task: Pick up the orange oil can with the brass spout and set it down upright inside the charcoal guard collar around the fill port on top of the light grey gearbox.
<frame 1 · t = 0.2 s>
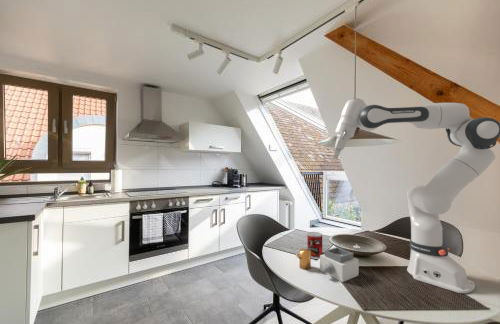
hand: (335, 158, 114), 52 cm above the table, tool tilted 20°, fingers open, 8 cm apart
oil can: (305, 267, 110), on the table
canned food: (314, 254, 126), on the table
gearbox: (338, 272, 104), on the table
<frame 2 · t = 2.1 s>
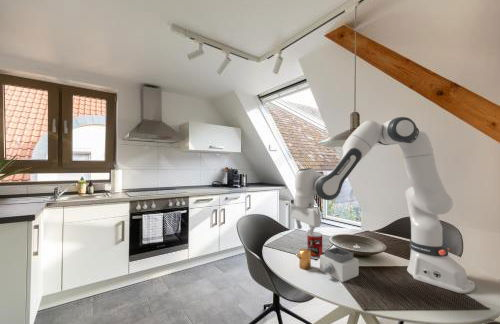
hand: (304, 231, 110), 17 cm above the table, tool pointing down, fingers open, 8 cm apart
nothing on the table moved.
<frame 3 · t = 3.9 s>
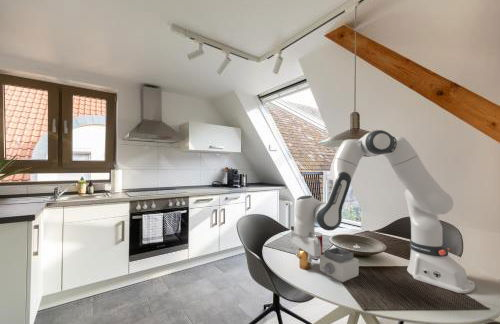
hand: (305, 259, 110), 4 cm above the table, tool pointing down, fingers closed on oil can, 5 cm apart
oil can: (305, 267, 110), on the table, touching gripper
everything else where it was.
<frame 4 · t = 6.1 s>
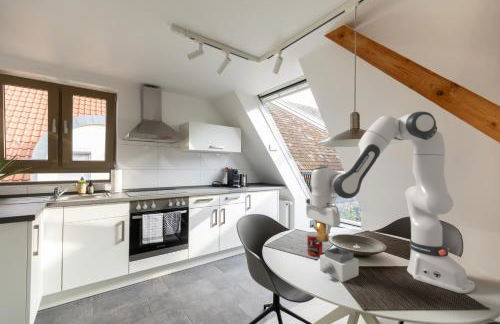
hand: (322, 231, 107), 18 cm above the table, tool pointing down, fingers closed on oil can, 5 cm apart
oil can: (322, 240, 107), point 14 cm above the table, touching gripper
everything else where it was.
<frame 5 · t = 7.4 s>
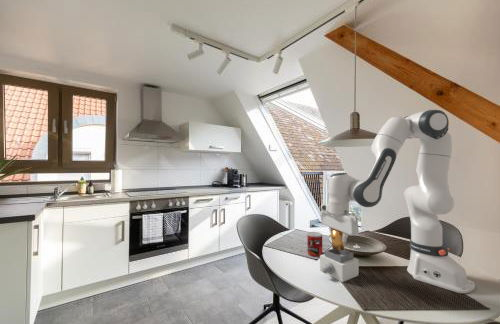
hand: (338, 239, 104), 15 cm above the table, tool pointing down, fingers closed on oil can, 5 cm apart
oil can: (338, 248, 104), point 11 cm above the table, touching gripper
everything else where it was.
when the fingers open (12 cm above the table, at t = 8.3 s): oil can drops 1 cm, resting on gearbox.
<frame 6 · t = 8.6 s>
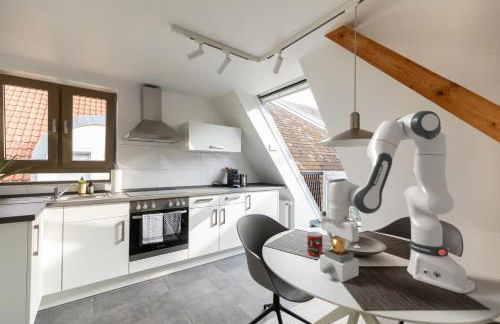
hand: (338, 245, 104), 12 cm above the table, tool pointing down, fingers open, 8 cm apart
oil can: (338, 257, 104), point 7 cm above the table, touching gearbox
everything else where it was.
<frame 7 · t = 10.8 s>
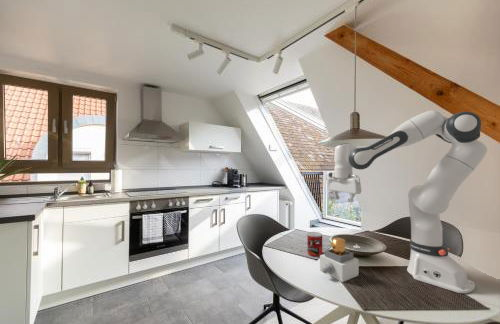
hand: (343, 200, 121), 30 cm above the table, tool pointing down, fingers open, 8 cm apart
nothing on the table moved.
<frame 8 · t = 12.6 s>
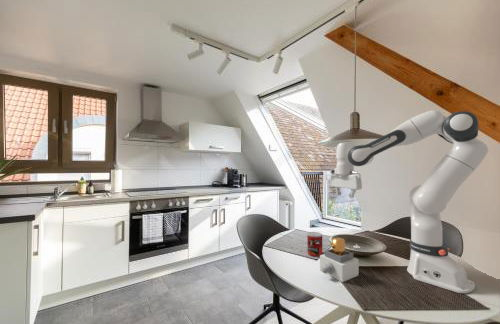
hand: (345, 196, 126), 31 cm above the table, tool pointing down, fingers open, 8 cm apart
nothing on the table moved.
at the end: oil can 0.0 cm off-centre on the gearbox, point 7.1 cm above the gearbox's base; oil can tilted 1°; the gripper is holding nothing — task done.
